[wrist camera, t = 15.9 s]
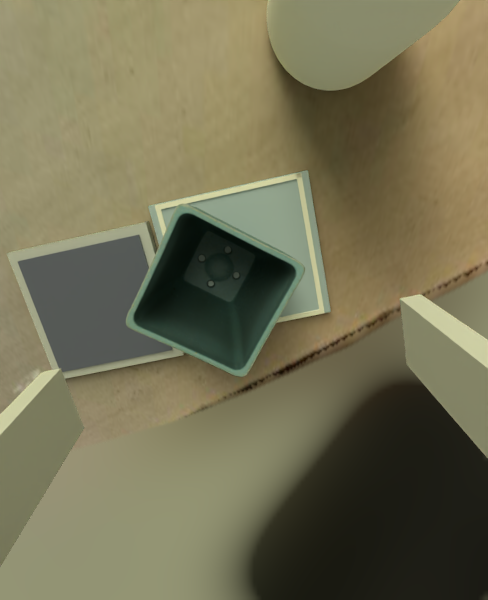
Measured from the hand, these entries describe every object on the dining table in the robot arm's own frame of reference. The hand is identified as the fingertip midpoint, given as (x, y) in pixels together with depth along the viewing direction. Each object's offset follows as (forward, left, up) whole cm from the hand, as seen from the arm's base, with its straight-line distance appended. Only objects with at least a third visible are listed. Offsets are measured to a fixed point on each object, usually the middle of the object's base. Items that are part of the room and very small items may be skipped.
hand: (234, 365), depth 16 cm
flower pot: (-2, 0, -20) cm, 20 cm away
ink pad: (-13, -1, -20) cm, 24 cm away
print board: (0, 0, -20) cm, 20 cm away
